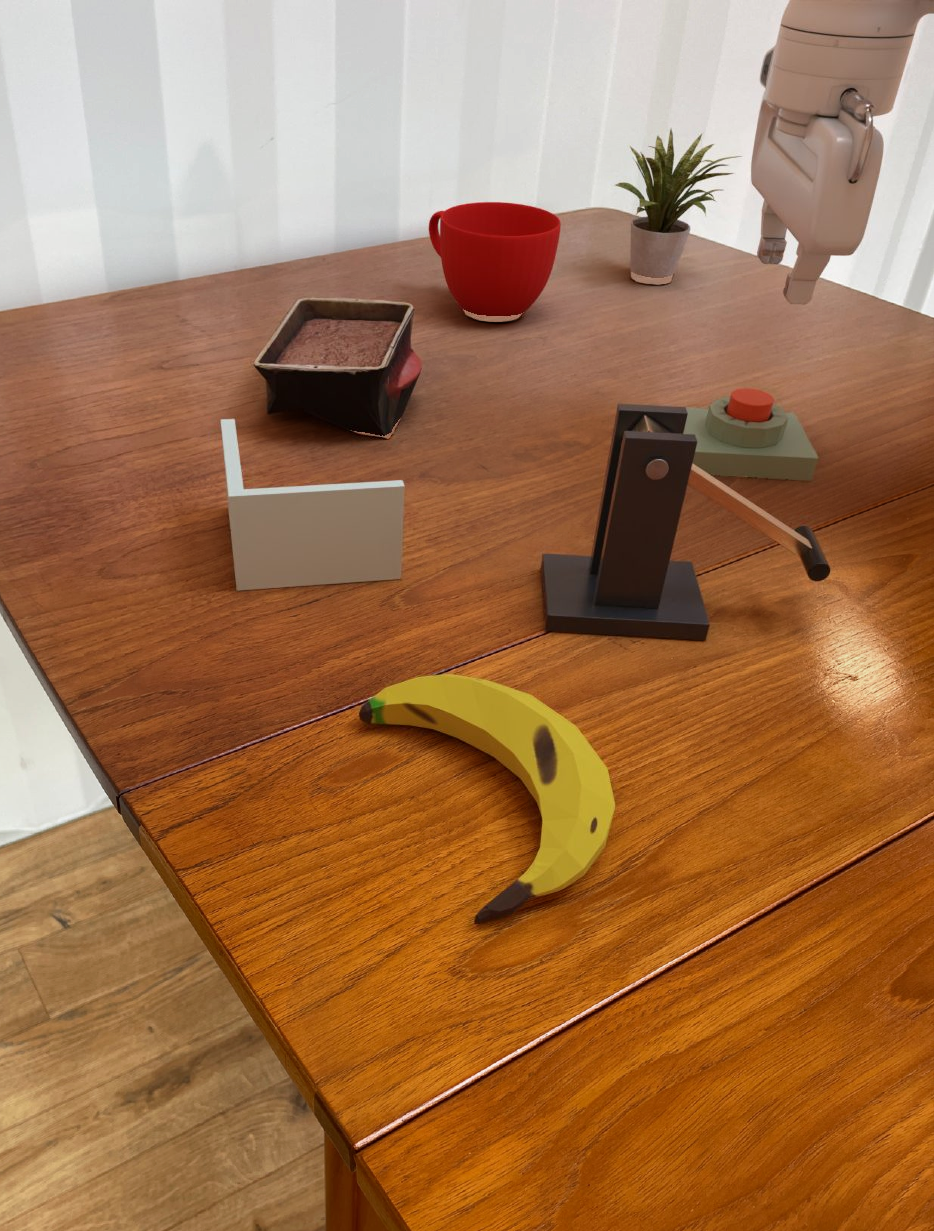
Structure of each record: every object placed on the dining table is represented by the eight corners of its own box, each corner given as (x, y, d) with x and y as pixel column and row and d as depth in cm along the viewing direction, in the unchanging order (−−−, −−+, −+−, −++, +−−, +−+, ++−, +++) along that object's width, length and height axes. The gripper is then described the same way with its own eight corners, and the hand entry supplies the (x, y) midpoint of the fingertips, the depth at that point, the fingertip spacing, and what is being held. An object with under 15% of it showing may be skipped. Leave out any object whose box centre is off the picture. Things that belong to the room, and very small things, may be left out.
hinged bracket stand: (688, 577, 78) (732, 399, 69) (705, 641, 72) (757, 455, 63) (540, 569, 78) (565, 391, 69) (545, 631, 72) (573, 445, 63)
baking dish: (239, 448, 96) (233, 349, 89) (301, 348, 107) (301, 253, 100) (390, 481, 95) (397, 383, 87) (437, 376, 106) (447, 281, 98)
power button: (764, 408, 92) (769, 389, 91) (772, 426, 90) (778, 406, 89) (722, 406, 93) (727, 387, 91) (730, 423, 90) (735, 404, 89)
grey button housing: (788, 435, 97) (800, 393, 94) (811, 481, 90) (825, 438, 87) (668, 429, 97) (677, 387, 95) (682, 474, 90) (692, 431, 88)
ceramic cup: (466, 277, 128) (472, 187, 121) (573, 316, 119) (586, 221, 112) (388, 300, 121) (390, 207, 115) (495, 343, 112) (504, 244, 105)
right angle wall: (401, 578, 77) (404, 486, 72) (236, 590, 75) (228, 496, 70) (375, 499, 86) (377, 411, 81) (228, 508, 84) (220, 419, 79)
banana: (407, 626, 65) (254, 788, 57) (669, 722, 57) (533, 925, 49) (415, 679, 68) (271, 839, 60) (663, 777, 60) (535, 975, 52)
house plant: (683, 310, 121) (716, 153, 110) (574, 286, 126) (596, 133, 116) (725, 278, 130) (759, 130, 119) (622, 256, 136) (646, 113, 125)
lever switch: (796, 551, 74) (822, 526, 73) (813, 590, 70) (841, 565, 69) (618, 434, 69) (642, 405, 68) (626, 469, 66) (651, 439, 64)
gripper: (928, 109, 66) (858, 330, 75) (840, 55, 81) (791, 243, 90) (827, 105, 66) (769, 326, 75) (758, 52, 81) (718, 240, 90)
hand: (781, 280), depth 83 cm, fingers open, 8 cm apart
